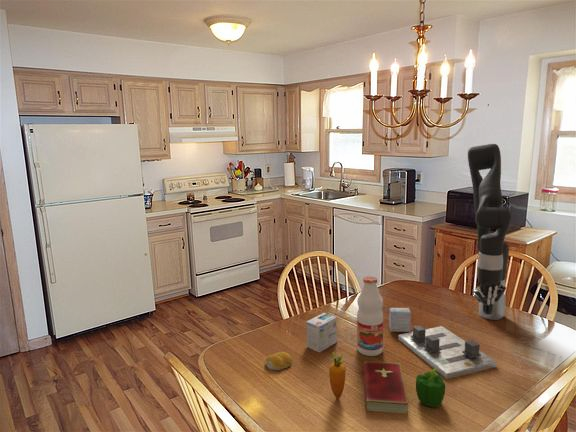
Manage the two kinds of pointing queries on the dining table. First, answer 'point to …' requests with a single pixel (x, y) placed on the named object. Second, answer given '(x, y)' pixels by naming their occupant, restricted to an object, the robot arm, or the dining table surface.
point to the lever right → (418, 333)
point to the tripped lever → (471, 349)
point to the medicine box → (399, 319)
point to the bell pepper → (430, 388)
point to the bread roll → (278, 361)
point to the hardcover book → (384, 387)
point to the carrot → (337, 376)
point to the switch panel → (447, 354)
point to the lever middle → (432, 343)
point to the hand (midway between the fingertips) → (487, 313)
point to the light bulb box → (321, 332)
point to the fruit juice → (370, 319)
